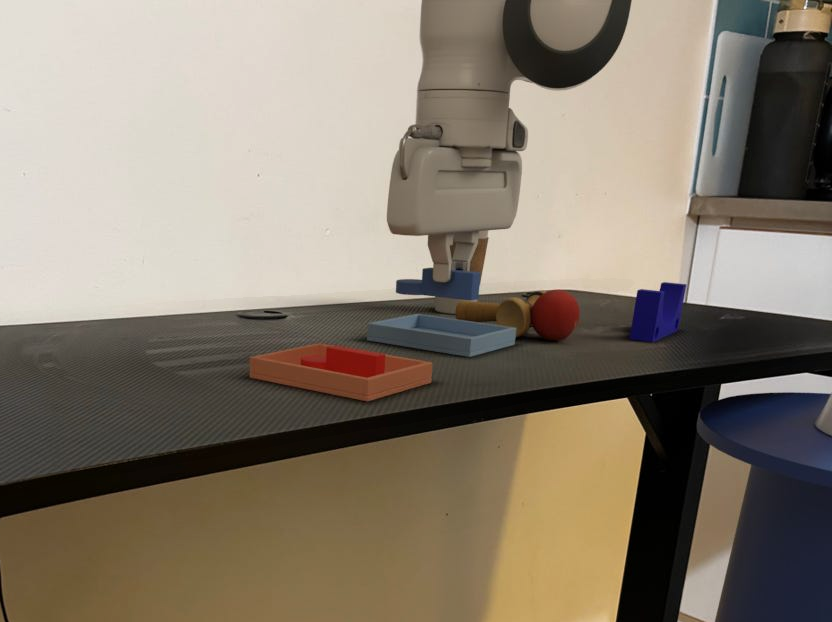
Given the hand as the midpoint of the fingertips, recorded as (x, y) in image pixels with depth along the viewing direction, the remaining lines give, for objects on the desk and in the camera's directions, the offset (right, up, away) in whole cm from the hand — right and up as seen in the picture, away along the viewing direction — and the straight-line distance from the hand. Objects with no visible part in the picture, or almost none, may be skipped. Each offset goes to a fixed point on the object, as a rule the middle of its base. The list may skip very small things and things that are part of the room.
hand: (450, 280), depth 99 cm
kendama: (+11, +3, +26) cm, 28 cm away
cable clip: (+29, +4, +29) cm, 42 cm away
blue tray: (+1, -1, +18) cm, 18 cm away
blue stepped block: (-2, -1, +2) cm, 2 cm away
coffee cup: (+5, +11, +41) cm, 43 cm away
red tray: (-11, -11, -3) cm, 16 cm away
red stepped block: (-11, -11, -3) cm, 16 cm away
